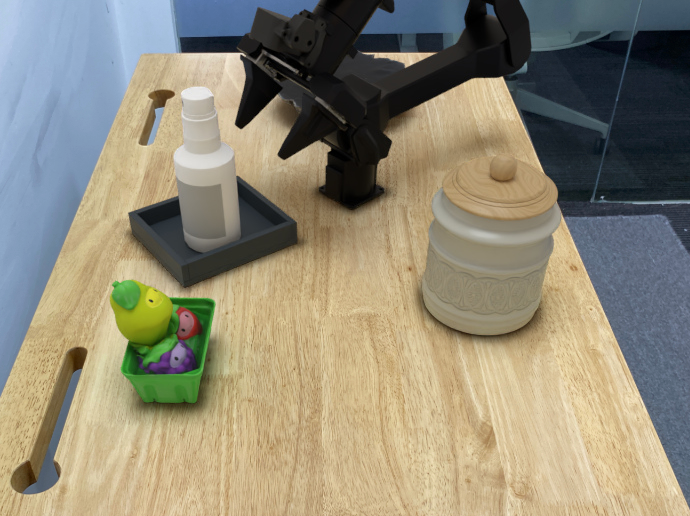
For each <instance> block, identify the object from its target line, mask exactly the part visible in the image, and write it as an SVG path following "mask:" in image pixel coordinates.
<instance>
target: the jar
mask: <svg viewBox="0 0 690 516" xmlns="http://www.w3.org/2000/svg"><path fill="white" fill-rule="evenodd" d="M558 197H559V190H558V188H557V186H556V183H555V182H554V181H553V179H551V178H550V177H549V176H547V174H545V173H544V172H542V171H541V170H540V169H539V168H537V167H536V166H534V165H533V164H531V163H529V162H527V161H524V160H521V159H518V158H516V157H515V156H514V155H513V154H511V153H510V152H500V153H497V154H495V155H488V156H480V157H476V158H473V159H471V160H468V161H466V162H463V163H460V164H458V165H456V166H454V167H452V168H451V169H449V171H447V172H446V174H445V175H444V177H443V179H442V182H441V187H440V188H438V190H437V191H436V192H435V193H434V194H433V197H432V199H431V203H430V207H431V213H432V215H433V217H434V218H433V219H432V220H431V222H430V224H429V225H428V231H427V237H428V243H427V251H426V259H425V260H426V261H425V269H424V270H423V273H422V277H421V278H422V280H421V291H422V298H423V304H424V306H425V307H426V309H427V311H428V312H429V313H430V314H431V315H432V317H434V318H435V319H436V320H437V321H439V322H440V323H442V324H443V325H445V326H447V327H449V328H451V329H453V330H456V331H460V332H463V333H467V334H472V335H477V336H479V335H480V336H497V335H505V334H508V333H512V332H514V331H517V330H519V329H521V328H523V327H524V326H526V325H527V324H528V323H529V322H530V321H531V320H532V319H533V317H534V315H535V313H536V311H537V310H538V308H539V306H540V303H541V299H542V295H543V285H544V281H545V277H546V273H547V269H548V265H549V260H550V257H551V256H552V254H553V252H554V248H555V240H554V237H553V234H554V233H555V232H556V231H557V229H558V228H559V227H560V224H561V222H562V211H561V207H560V206H559V204H558V201H557V200H558Z"/></svg>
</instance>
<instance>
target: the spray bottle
mask: <svg viewBox="0 0 690 516" xmlns="http://www.w3.org/2000/svg"><path fill="white" fill-rule="evenodd" d="M214 97H215V96H214V94H213V92H212V91H211V90H210V89H209V88H208V87H207V86H201V85H200V86H191V87H187V88H185V89H183V90H182V91H181V92H180V98H181V107H182V108H181V113H180V118H181V124H182V139H183V144H181V145H180V146H178V147H177V149H175V151H174V153H173V155H172V156H173V165H174V167H173V168H174V174H175V180H176V181H175V182H176V188H177V194H178V195H177V196H179V203H180V210H181V217H182V224H183V231H184V238H185V242H186V243H187V245H188V246H189V247H190V248H192V249H193V250H195V251H198V252H201V253H205V252H208V251H211V250H213V249H216V248H219V247H221V246H224V245H226V244H229V243H232V242H234V241H237V240H240V238H241V228H240V216H239V204H238V191H237V179H236V176H237V167H236V157H235V156H236V155H235V151H234V149H233V148H232V147H231V145H229V144H228V143H226V142H224V141H222V139H221V130H220V125H219V116H218V110H217V109H216V105H215V98H214Z"/></svg>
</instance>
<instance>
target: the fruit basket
mask: <svg viewBox="0 0 690 516" xmlns="http://www.w3.org/2000/svg"><path fill="white" fill-rule="evenodd" d="M111 286H112V287H113V289H112V291H111V292H110V295H109V304H110V308H111V309H112V311H113V314H114V319H115V324H116V326H117V329H118V332H120V334H121V335H122V336H123V337H124V338H125V339H126V340H127V345H126V348H125V352H124V355H123V358H122V360H121V365H120V372H121V374H122V375H123V377H125V378H126V379H127V380H128V381H129V382H130V384H131V386H133V388H134V390H135V391H136V392H137V394H138V396H139V397H140V398H141V400H142V401H143V402H144V403H152V402H153V403H154V402H156V403H163V404H180V403H184V402H185V403H188V404H195V403H197V400H198V395H199V390H200V384H201V379H202V376H203V373H204V367H205V362H206V356H207V352H208V348H209V342H210V337H211V333H212V326H213V320H214V315H215V310H216V304H217V303H216V301H215V300H214V299H213V298H210V297H185V296H184V297H181V296H178V297H177V296H175V297H173V296H168V295H167V294H166V293H164V292H163V291H161V290H159V289H158V288H155V287H153V286H152V285H151V286H150V285H147V284H145V283H143V282H141V281H138V280H136V279H125V280H122V281H121V282H120V281H119V280H115V281H113V282H112V284H111Z"/></svg>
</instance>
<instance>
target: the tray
mask: <svg viewBox="0 0 690 516" xmlns="http://www.w3.org/2000/svg"><path fill="white" fill-rule="evenodd" d="M236 179H237V191H238V204H239V216H240V228H241V238H240V240H237V241H234V242H232V243H229V244H226V245H224V246H221V247H219V248H216V249H213V250H211V251H208V252H205V253H201V252H198V251H195V250H193V249H192V248H190V247H189V246H188V245H187V243H186V242H185V238H184V231H183V224H182V217H181V210H180V203H179V196H178V195H176V196H173V197H170V198H167V199H164V200H161V201H158V202H155V203H152V204H150V205H147V206H144V207H141V208H138V209H134V210H132V211H128V212H127V214H128V215H127V216H128V220H129V221H128V222H129V225H130V230H131V231H130V232H131V235H133V237H135V238H136V239H137V240H138V242H140V243H141V244H142V245H143V247H144V248H146V250H147V251H148V252H149V253H150V254H151V255H152V256H153V257H154V258H155V259H156V260H157V261H158V262H159V263H160V264H161V266H163V267H164V269H166V270H167V271H168V272H169V273H170V274H171V276H173V278H174V279H175V280H176V281H177V282H178V283H179V284H180V285H181V286H182V287H183V288H187V287H190V286H192V285H195V284H197V283H200V282H203V281H205V280H208V279H210V278H212V277H215V276H217V275H220V274H222V273H225V272H228V271H230V270H233V269H235V268H237V267H240V266H242V265H245V264H248V263H250V262H252V261H255V260H257V259H260V258H263V257H265V256H268V255H270V254H273V253H275V252H277V251H280V250H283V249H285V248H289V247H291V246H293V245H295V244H298V222H297V220H295V219H294V218H292V217H291V216H290V215H289V214H287V212H285V211H284V210H283V209H281V208H280V207H279V206H277V205H276V204H275V203H274V202H273V201H271V200H270V199H269V198H267V197H266V196H265V195H264V194H263V193H261V192H260V191H258V190H257V189H256V188H254V187H253V186H252V185H251V184H249V183H248V182H247V181H246V180H244V178H242V177H241V176H240V175H236Z"/></svg>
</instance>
